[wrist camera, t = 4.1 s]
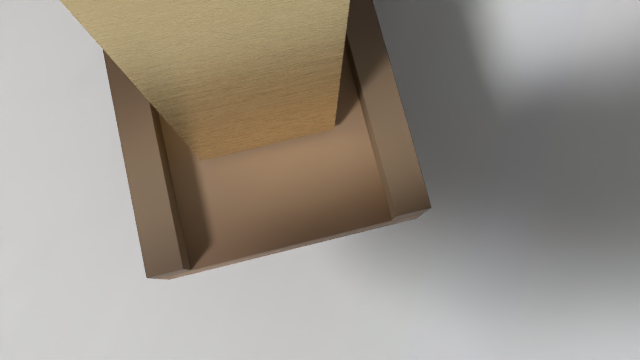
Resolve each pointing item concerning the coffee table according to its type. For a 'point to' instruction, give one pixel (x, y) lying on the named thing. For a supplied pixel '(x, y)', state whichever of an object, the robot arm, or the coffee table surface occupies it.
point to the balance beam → (273, 172)
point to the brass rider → (227, 64)
